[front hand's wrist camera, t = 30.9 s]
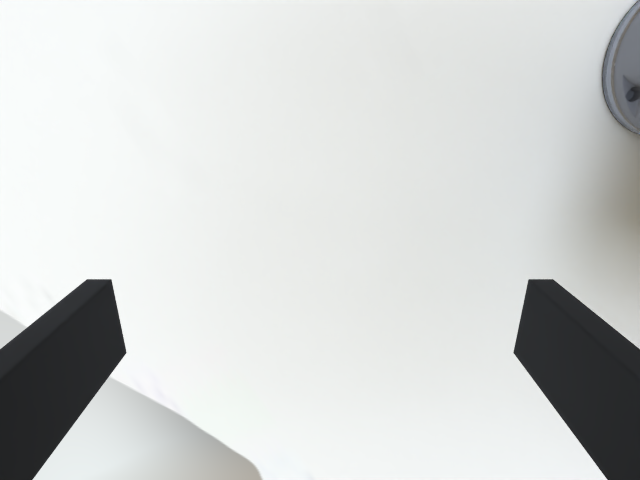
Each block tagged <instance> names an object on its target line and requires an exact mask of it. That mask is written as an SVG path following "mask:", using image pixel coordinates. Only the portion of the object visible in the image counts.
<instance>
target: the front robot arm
mask: <svg viewBox="0 0 640 480" xmlns="http://www.w3.org/2000/svg"><path fill="white" fill-rule="evenodd" d="M603 90H604V95H605V99H606V102H607V104H608V107H609V109H610V111H611V112H612V114H613V115H614V117H615V118H616V119H617V120H618V121H619V122H620V123H621V124H622V125H623V126H624V127H626V128H627V129H629V130H631V131H633V132H635V133H637V134H640V0H639V1H638V2H637V3H636V4H635V5H634V6H633V7H632V8H631V9H630V10H629V12H628V13H627V14H626V15H625V17H624V18H623V20H622V21H621V23H620V24H619V26H618V28H617V29H616V31H615V33H614V35H613V37H612V39H611V42H610V44H609V47H608V50H607V53H606V57H605V61H604V67H603ZM125 354H126V348H125V343H124V339H123V334H122V329H121V324H120V319H119V314H118V309H117V305H116V300H115V295H114V290H113V285H112V280H111V279H87V280H86V281H84V282H83V283H82V284H81V285H79V286H78V287H77V288H76V289H75V290H73V291H72V292H71V293H70V294H68V295H67V296H66V297H65V298H63V299H62V300H61V301H60V302H58V303H57V304H56V305H55V306H53V307H52V308H51V309H50V310H49V311H47V312H46V313H45V314H44V315H42V316H41V317H40V318H39V319H37V320H36V321H35V322H34V323H32V324H31V325H30V326H29V327H27V328H26V329H25V330H24V331H22V332H21V333H20V334H19V335H18V336H16V337H15V338H14V339H13V340H11V341H10V342H9V343H8V344H6V345H5V346H4V347H3V348H1V349H0V480H32V479H33V478H34V477H35V475H36V474H37V473H38V471H39V470H40V469H41V467H42V466H43V465H44V463H45V462H46V461H47V459H48V458H49V457H50V455H51V454H52V452H53V451H54V450H55V448H56V447H57V446H58V444H59V443H60V442H61V440H62V439H63V438H64V436H65V435H66V434H67V432H68V431H69V430H70V428H71V427H72V426H73V424H74V423H75V421H76V420H77V419H78V417H79V416H80V415H81V413H82V412H83V411H84V409H85V408H86V407H87V405H88V404H89V403H90V401H91V400H92V399H93V397H94V396H95V394H96V393H97V392H98V390H99V389H100V388H101V386H102V385H103V384H104V382H105V381H106V380H107V378H108V377H109V376H110V374H111V373H112V372H113V370H114V369H115V367H116V366H117V365H118V363H119V362H120V361H121V359H122V358H123V357H124V355H125ZM514 354H515V355H516V357H517V358H518V359H519V361H520V362H521V363H522V365H523V366H524V367H525V369H526V370H527V372H528V373H529V374H530V376H531V377H532V378H533V380H534V381H535V382H536V384H537V385H538V386H539V388H540V389H541V390H542V392H543V393H544V394H545V396H546V397H547V399H548V400H549V401H550V403H551V404H552V405H553V407H554V408H555V409H556V411H557V412H558V413H559V415H560V416H561V417H562V419H563V420H564V421H565V423H566V424H567V426H568V427H569V428H570V430H571V431H572V432H573V434H574V435H575V436H576V438H577V439H578V440H579V442H580V443H581V444H582V446H583V447H584V448H585V450H586V451H587V453H588V454H589V455H590V457H591V458H592V459H593V461H594V462H595V463H596V465H597V466H598V467H599V469H600V470H601V471H602V473H603V474H604V475H605V477H606V478H607V480H640V349H639V348H637V347H636V346H635V345H634V344H632V343H631V342H630V341H629V340H627V339H626V338H625V337H624V336H622V335H621V334H620V333H619V332H618V331H616V330H615V329H614V328H613V327H611V326H610V325H609V324H608V323H606V322H605V321H604V320H603V319H601V318H600V317H599V316H598V315H596V314H595V313H594V312H593V311H591V310H590V309H589V308H588V307H587V306H585V305H584V304H583V303H582V302H580V301H579V300H578V299H577V298H575V297H574V296H573V295H572V294H570V293H569V292H568V291H567V290H565V289H564V288H563V287H562V286H560V285H559V284H558V283H557V282H556V281H554V280H553V279H529V280H528V285H527V290H526V295H525V300H524V305H523V309H522V314H521V319H520V324H519V329H518V334H517V339H516V343H515V348H514Z"/></svg>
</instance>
